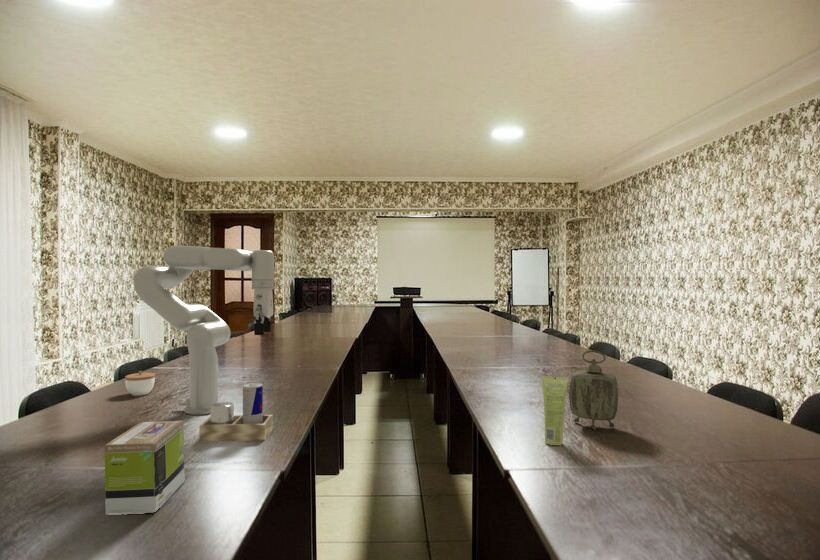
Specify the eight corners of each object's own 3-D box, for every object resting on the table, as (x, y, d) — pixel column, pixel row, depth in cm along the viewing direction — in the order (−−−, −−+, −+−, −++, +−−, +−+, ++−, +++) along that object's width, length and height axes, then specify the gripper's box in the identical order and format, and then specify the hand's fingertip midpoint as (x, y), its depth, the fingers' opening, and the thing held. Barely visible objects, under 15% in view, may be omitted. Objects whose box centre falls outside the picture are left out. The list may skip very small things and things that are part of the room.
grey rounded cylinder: (207, 439, 133) (207, 408, 133) (214, 432, 139) (215, 402, 139) (229, 438, 134) (229, 407, 134) (236, 431, 140) (236, 402, 140)
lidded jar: (147, 389, 197) (147, 367, 197) (159, 393, 191) (160, 370, 191) (120, 394, 188) (120, 371, 188) (132, 398, 182) (132, 374, 182)
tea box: (140, 483, 106) (141, 420, 106) (185, 482, 107) (186, 419, 107) (103, 517, 91) (103, 443, 91) (155, 515, 92) (155, 441, 92)
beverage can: (256, 438, 134) (256, 387, 134) (238, 437, 135) (239, 386, 135) (265, 432, 139) (266, 383, 139) (248, 431, 140) (249, 382, 140)
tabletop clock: (618, 427, 149) (618, 350, 149) (617, 435, 141) (618, 354, 141) (571, 421, 155) (571, 347, 155) (568, 429, 147) (568, 350, 147)
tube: (555, 439, 137) (555, 373, 137) (568, 444, 133) (568, 377, 133) (540, 442, 135) (541, 375, 135) (553, 447, 130) (553, 379, 130)
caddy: (199, 444, 131) (199, 425, 131) (211, 433, 141) (211, 415, 141) (264, 443, 133) (265, 424, 133) (272, 432, 142) (272, 414, 142)
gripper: (268, 285, 154) (267, 336, 154) (278, 284, 172) (278, 330, 172) (245, 285, 154) (244, 336, 154) (258, 284, 171) (258, 330, 171)
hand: (262, 333), depth 163 cm, fingers open, 9 cm apart
